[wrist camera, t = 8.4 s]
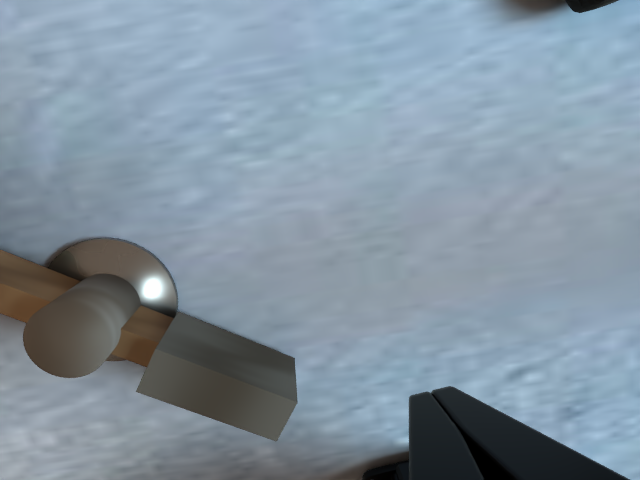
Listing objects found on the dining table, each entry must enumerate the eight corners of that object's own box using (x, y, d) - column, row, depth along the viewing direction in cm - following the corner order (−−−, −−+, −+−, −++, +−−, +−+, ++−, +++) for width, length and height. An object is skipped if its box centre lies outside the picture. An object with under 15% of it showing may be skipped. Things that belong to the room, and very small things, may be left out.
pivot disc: (192, 342, 20) (191, 345, 19) (70, 370, 19) (67, 373, 19) (156, 225, 18) (154, 226, 18) (23, 253, 18) (19, 255, 18)
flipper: (298, 349, 20) (303, 404, 15) (272, 399, 20) (270, 465, 16) (-197, 148, 16) (-372, 149, 11) (-215, 216, 16) (-388, 242, 12)
